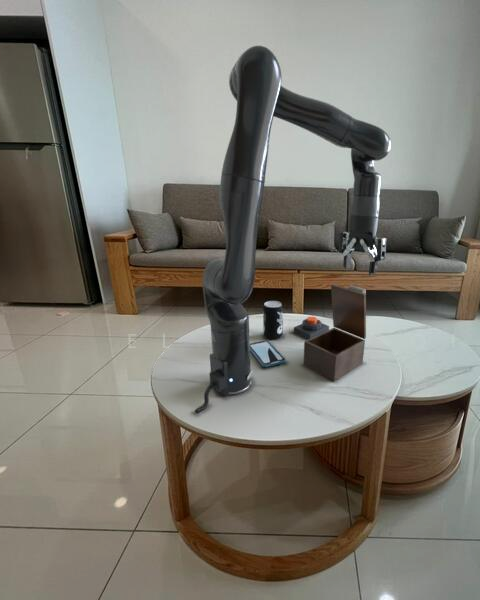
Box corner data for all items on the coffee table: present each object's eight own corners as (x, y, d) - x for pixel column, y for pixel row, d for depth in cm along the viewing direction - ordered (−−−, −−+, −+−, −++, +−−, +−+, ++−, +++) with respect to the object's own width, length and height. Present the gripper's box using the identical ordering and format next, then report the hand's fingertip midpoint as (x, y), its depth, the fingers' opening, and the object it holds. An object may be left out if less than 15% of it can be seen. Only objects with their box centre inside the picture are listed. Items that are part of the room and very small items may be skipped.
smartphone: (267, 339, 107) (286, 360, 95) (267, 342, 107) (286, 362, 95) (246, 344, 104) (263, 366, 91) (246, 346, 104) (263, 368, 92)
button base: (310, 340, 109) (310, 329, 108) (293, 332, 114) (293, 322, 113) (328, 331, 116) (329, 321, 115) (312, 324, 121) (312, 314, 120)
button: (312, 326, 111) (312, 321, 111) (304, 322, 114) (304, 318, 113) (318, 323, 114) (319, 318, 113) (311, 320, 116) (311, 315, 116)
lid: (364, 294, 86) (376, 287, 90) (330, 285, 94) (343, 278, 97) (364, 339, 93) (375, 330, 97) (333, 326, 101) (344, 318, 104)
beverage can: (273, 342, 107) (273, 309, 103) (259, 336, 111) (258, 304, 107) (286, 335, 112) (286, 303, 108) (272, 330, 116) (272, 299, 112)
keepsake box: (334, 381, 87) (336, 356, 84) (303, 365, 94) (304, 341, 92) (362, 363, 96) (365, 340, 94) (332, 349, 104) (334, 327, 101)
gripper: (335, 211, 89) (331, 268, 94) (380, 216, 80) (373, 279, 85) (351, 210, 94) (347, 264, 100) (395, 214, 85) (387, 274, 90)
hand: (359, 271), depth 92 cm, fingers open, 8 cm apart
